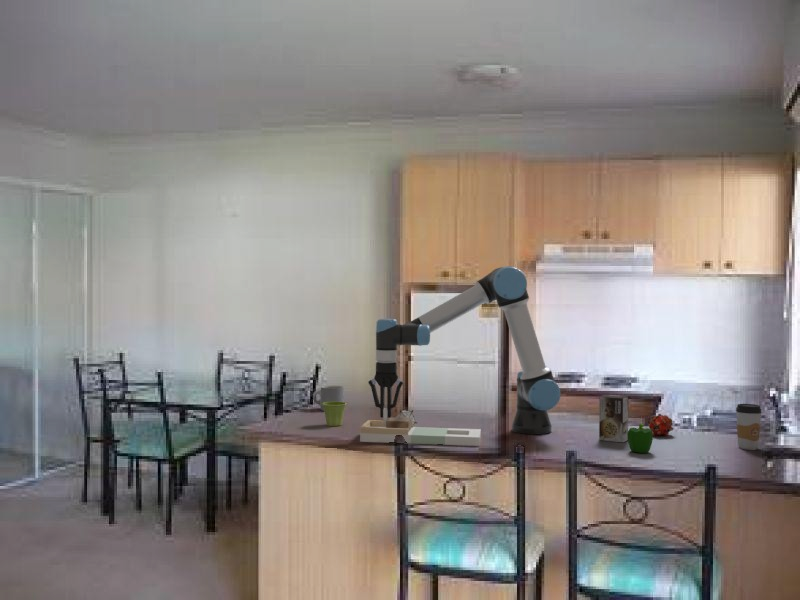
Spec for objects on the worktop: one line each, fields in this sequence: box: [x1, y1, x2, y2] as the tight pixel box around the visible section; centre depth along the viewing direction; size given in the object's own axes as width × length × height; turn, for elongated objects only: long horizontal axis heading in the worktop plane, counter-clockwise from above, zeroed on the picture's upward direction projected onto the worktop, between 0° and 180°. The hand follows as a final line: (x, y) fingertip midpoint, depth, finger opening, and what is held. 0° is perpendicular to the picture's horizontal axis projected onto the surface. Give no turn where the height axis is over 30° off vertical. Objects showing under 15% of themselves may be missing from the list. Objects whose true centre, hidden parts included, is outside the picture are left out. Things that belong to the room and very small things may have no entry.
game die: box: [395, 408, 418, 426], centre depth 306 cm, size 9×8×10 cm
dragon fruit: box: [647, 413, 674, 437], centre depth 302 cm, size 8×8×12 cm
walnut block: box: [386, 416, 411, 432], centre depth 289 cm, size 8×8×4 cm
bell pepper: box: [627, 422, 654, 454], centre depth 270 cm, size 8×8×10 cm
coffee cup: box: [735, 403, 763, 451], centre depth 279 cm, size 8×8×15 cm
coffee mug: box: [312, 385, 344, 412], centre depth 356 cm, size 13×10×10 cm
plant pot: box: [322, 401, 347, 427], centre depth 315 cm, size 9×9×9 cm
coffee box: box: [598, 394, 629, 443], centre depth 291 cm, size 9×6×16 cm
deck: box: [359, 419, 482, 447], centre depth 288 cm, size 42×16×5 cm, turn 83°
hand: (385, 426), depth 290 cm, fingers closed
